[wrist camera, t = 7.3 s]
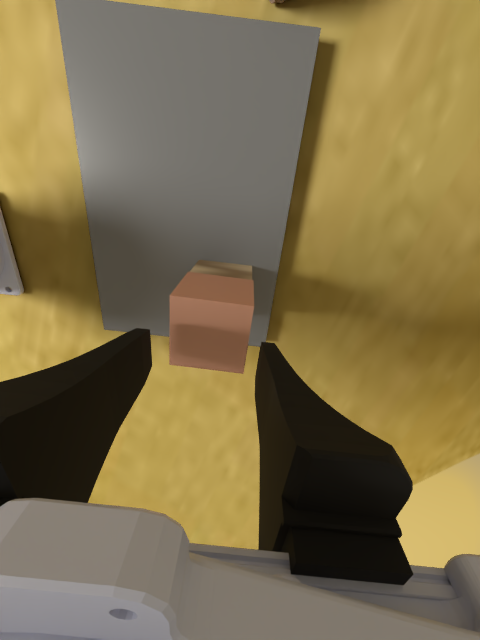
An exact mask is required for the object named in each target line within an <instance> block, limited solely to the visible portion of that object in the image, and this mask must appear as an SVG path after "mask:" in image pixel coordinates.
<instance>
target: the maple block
mask: <svg viewBox="0 0 480 640" xmlns="http://www.w3.org/2000/svg"><path fill="white" fill-rule="evenodd" d="M190 272H195V273H202V274H210V275H218V276H225V277H233V278H241V279H248V280H252V266H250V265H241V264H233V263H224V262H215V261H206V260H198V262H197V263H196V264H195V266H194V267H193V268H192V270H191V271H190Z"/></svg>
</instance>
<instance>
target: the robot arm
mask: <svg viewBox="0 0 480 640" xmlns="http://www.w3.org/2000/svg"><path fill="white" fill-rule="evenodd" d="M9 287H10V288H11V289H12V290H11V289H10V288H9ZM23 292H24V289H23V285H22V282H21V278H20V275H19V271H18V268H17V264H16V261H15V257H14V254H13V250H12V246H11V243H10V239H9V236H8V232H7V229H6V225H5V222H4V218H3V215H2V211H1V208H0V294H8V295H20V294H22V293H23ZM151 367H152V355H151V338H150V329H141V328H136V329H133V330H131V331H129V332H127V333H125V334H123V335H121V336H119V337H117V338H115V339H114V340H112V341H110V342H108V343H106V344H104V345H102V346H100V347H98V348H96V349H93V350H91V351H89V352H87V353H85V354H83V355H81V356H78V357H76V358H74V359H71V360H69V361H66V362H64V363H61V364H58V365H56V366H53V367H50V368H47V369H44V370H41V371H38V372H34V373H31V374H28V375H25V376H21V377H18V378H14V379H10V380H6V381H3V382H0V640H480V555H472V554H461V555H457V556H454V557H453V558H451V559H450V560H449V561H448V562H447V564H446V565H445V568H434V567H424V566H414V565H409V562H408V560H407V558H406V555H405V553H404V551H403V548H402V546H401V544H400V541H399V539H398V538H400V537H401V536H402V532H401V529H400V527H399V525H398V522H397V520H396V517H397V515H398V514H399V512H400V511H401V509H402V508H403V506H404V505H405V504H406V502H407V501H408V499H409V497H410V494H411V492H412V480H411V478H410V476H409V474H408V472H407V470H406V469H405V467H404V465H403V463H402V461H401V459H400V458H399V456H398V454H397V453H396V451H395V450H394V448H393V446H392V445H390V444H388V443H387V442H385V441H383V440H381V439H379V438H378V437H376V436H374V435H372V434H371V433H369V432H367V431H365V430H364V429H362V428H361V427H359V426H358V425H356V424H355V423H353V422H351V421H350V420H348V419H347V418H346V417H344V416H343V415H341V414H340V413H339V412H337V411H336V410H335V409H333V408H332V407H331V406H330V405H328V404H327V403H326V402H325V401H324V400H322V399H321V398H320V397H319V396H318V395H317V394H316V393H315V392H314V391H312V390H311V389H310V388H309V387H308V386H307V385H306V384H305V383H304V381H303V380H302V379H301V378H300V377H299V376H298V375H297V374H296V372H295V371H294V370H293V368H292V367H291V366H290V365H289V363H288V362H287V361H286V359H285V358H284V356H283V355H282V353H281V352H280V351H279V349H278V348H277V346H276V345H275V343H268V342H261V346H260V352H259V358H258V364H257V370H256V376H255V402H256V412H257V422H258V432H259V444H260V506H259V550H254V549H244V548H234V547H224V546H214V545H204V544H194V543H189V540H188V538H187V535H186V533H185V531H184V529H183V527H182V526H181V524H179V523H178V522H176V521H175V520H173V519H172V518H170V517H168V516H167V515H165V514H162V513H158V512H154V511H150V510H146V509H141V508H132V507H122V506H112V505H102V504H92V503H88V500H89V498H90V495H91V493H92V490H93V488H94V485H95V482H96V480H97V478H98V475H99V473H100V470H101V468H102V466H103V463H104V461H105V459H106V456H107V454H108V452H109V450H110V447H111V445H112V443H113V441H114V438H115V436H116V434H117V432H118V430H119V428H120V426H121V424H122V423H123V421H124V419H125V418H126V416H127V414H128V412H129V411H130V409H131V407H132V406H133V404H134V402H135V400H136V399H137V397H138V395H139V393H140V392H141V390H142V388H143V386H144V384H145V382H146V380H147V377H148V375H149V372H150V370H151Z"/></svg>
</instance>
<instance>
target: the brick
mask: <svg viewBox="0 0 480 640" xmlns="http://www.w3.org/2000/svg"><path fill="white" fill-rule="evenodd" d="M269 1H270V2H271V3H276V2H277V3H282V2H284V1H285V0H269Z"/></svg>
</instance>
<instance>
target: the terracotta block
mask: <svg viewBox="0 0 480 640" xmlns="http://www.w3.org/2000/svg"><path fill="white" fill-rule="evenodd" d="M253 311H254V282H253V280H248V279H241V278H233V277H225V276H218V275H210V274H202V273H195V272H187V274H186V275H185V276H184V278H183V279H182V280H181V281H180V283H179V284H178V285H177V287H176V288H175V289H174V290H173V292H172V293H171V294H170V360H169V365H177V366H185V367H194V368H202V369H210V370H218V371H226V372H234V373H242V374H243V372H244V366H245V360H246V354H247V348H248V342H249V335H250V329H251V323H252V317H253Z"/></svg>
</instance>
